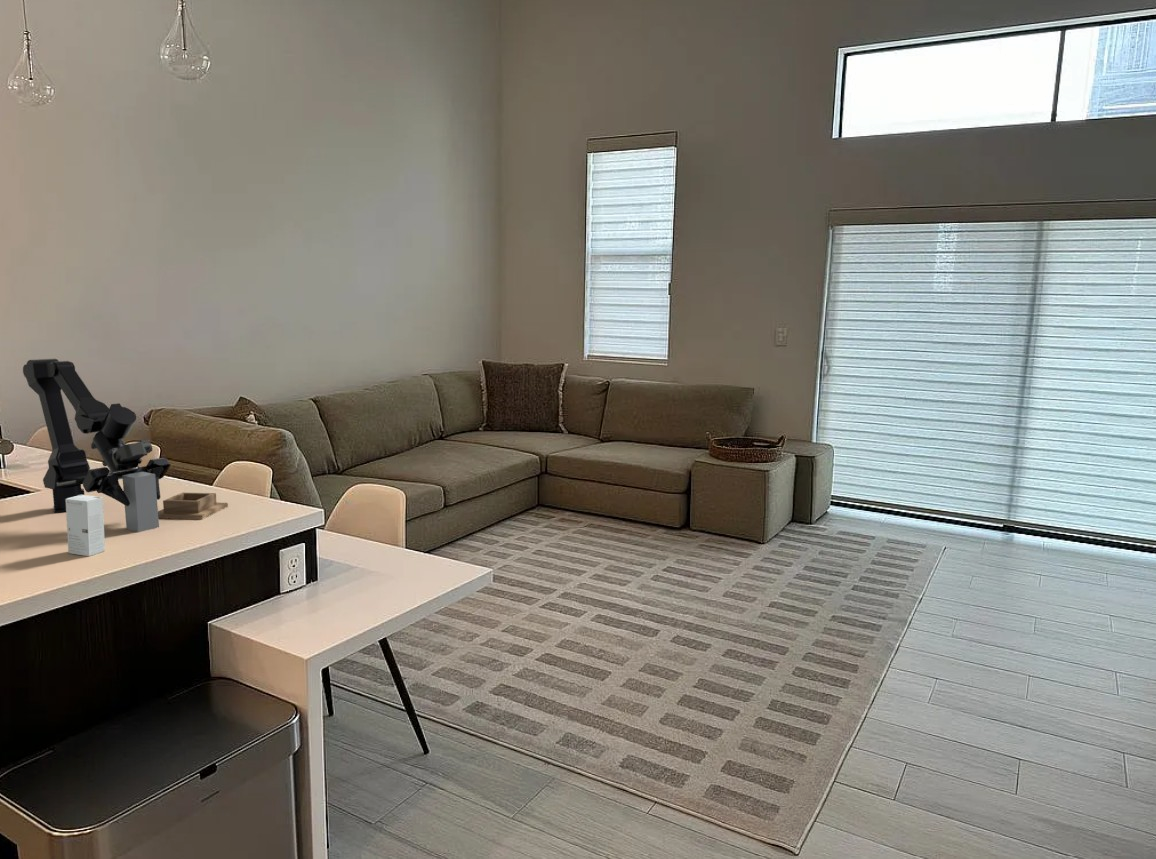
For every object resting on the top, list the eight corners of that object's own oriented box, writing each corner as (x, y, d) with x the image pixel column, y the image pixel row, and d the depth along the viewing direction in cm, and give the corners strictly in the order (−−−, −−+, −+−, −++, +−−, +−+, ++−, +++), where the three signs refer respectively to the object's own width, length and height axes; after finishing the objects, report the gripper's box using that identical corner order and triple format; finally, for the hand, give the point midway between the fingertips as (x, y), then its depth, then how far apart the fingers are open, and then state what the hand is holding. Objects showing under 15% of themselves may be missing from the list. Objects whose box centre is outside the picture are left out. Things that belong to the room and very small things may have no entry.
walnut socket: (202, 519, 201) (201, 503, 200) (151, 518, 202) (150, 502, 201) (228, 506, 214) (227, 491, 213) (180, 505, 214) (179, 490, 214)
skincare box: (67, 554, 173) (62, 498, 171) (85, 548, 177) (81, 494, 175) (89, 556, 171) (84, 501, 169) (107, 550, 175) (103, 496, 173)
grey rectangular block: (138, 532, 189) (134, 477, 187) (126, 528, 192) (122, 475, 190) (159, 527, 194) (155, 474, 192) (146, 524, 196) (142, 471, 194)
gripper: (85, 435, 183) (116, 488, 179) (163, 425, 199) (193, 474, 195) (69, 465, 189) (99, 518, 185) (147, 453, 204) (176, 501, 200)
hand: (144, 501), depth 191 cm, fingers open, 7 cm apart
